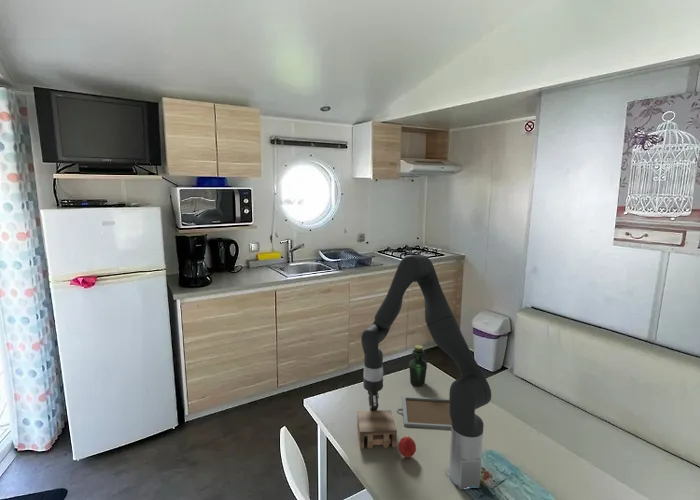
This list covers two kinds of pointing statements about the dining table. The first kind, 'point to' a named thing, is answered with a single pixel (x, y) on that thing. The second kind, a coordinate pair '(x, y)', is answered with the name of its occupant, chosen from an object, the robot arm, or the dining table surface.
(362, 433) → the cubby
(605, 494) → the dining table surface
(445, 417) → the grey framed board
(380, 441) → the tile
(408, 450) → the onion
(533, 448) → the dining table surface
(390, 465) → the dining table surface
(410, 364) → the potion bottle
